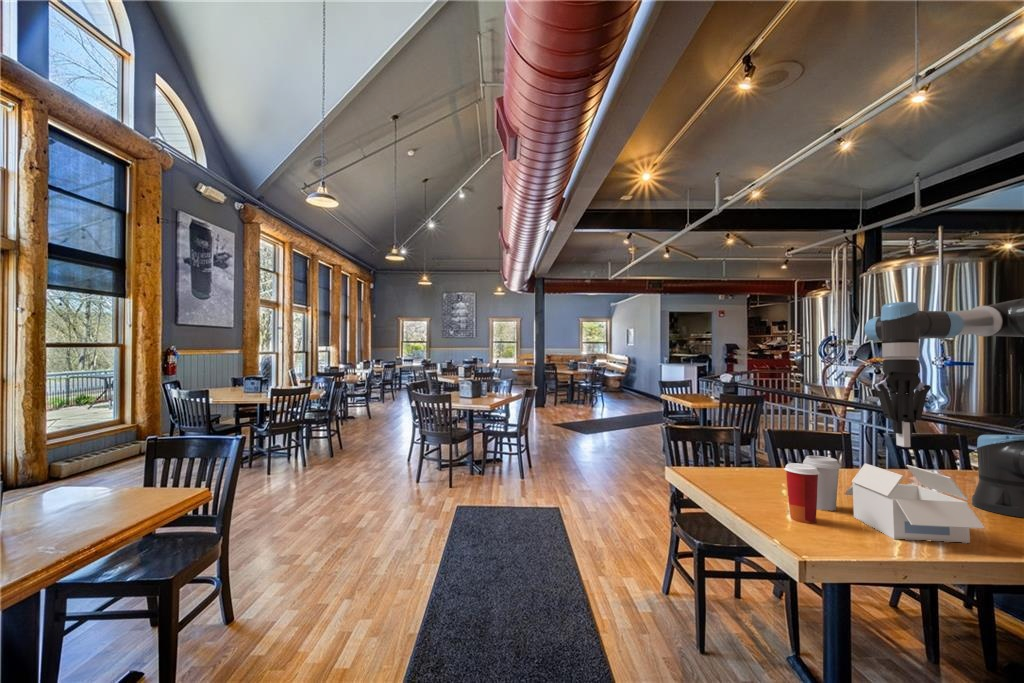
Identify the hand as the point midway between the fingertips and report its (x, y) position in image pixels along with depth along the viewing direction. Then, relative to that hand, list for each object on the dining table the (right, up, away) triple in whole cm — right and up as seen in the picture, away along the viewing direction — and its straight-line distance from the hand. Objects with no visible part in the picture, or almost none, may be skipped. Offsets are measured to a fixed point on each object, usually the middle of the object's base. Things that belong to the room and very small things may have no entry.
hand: (903, 446), depth 114 cm
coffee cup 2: (-10, -23, +16) cm, 30 cm away
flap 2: (+7, -9, -1) cm, 12 cm away
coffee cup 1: (-23, -23, +6) cm, 33 cm away
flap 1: (-7, -9, 0) cm, 12 cm away
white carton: (0, -22, -1) cm, 22 cm away
